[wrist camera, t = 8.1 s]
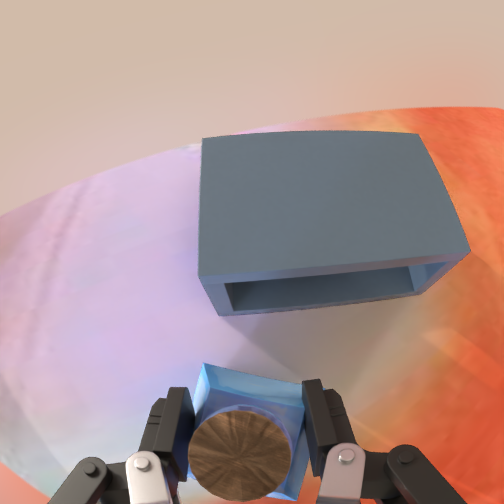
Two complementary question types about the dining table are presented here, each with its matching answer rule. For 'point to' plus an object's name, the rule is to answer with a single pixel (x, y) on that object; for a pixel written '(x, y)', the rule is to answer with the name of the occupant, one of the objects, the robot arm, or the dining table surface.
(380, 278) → the shelf
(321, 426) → the robot arm
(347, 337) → the dining table surface
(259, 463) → the perfume bottle
